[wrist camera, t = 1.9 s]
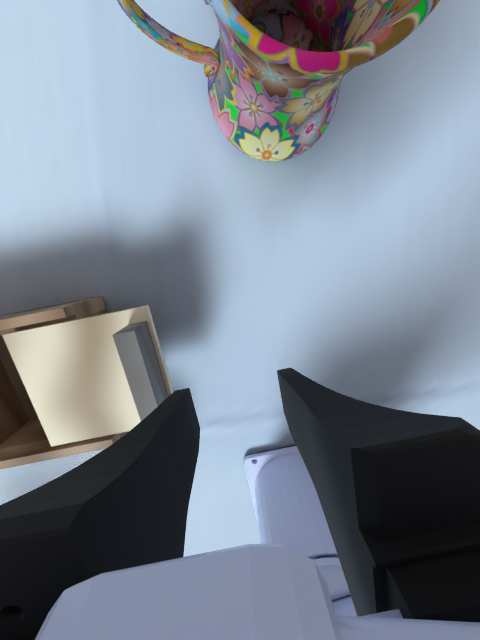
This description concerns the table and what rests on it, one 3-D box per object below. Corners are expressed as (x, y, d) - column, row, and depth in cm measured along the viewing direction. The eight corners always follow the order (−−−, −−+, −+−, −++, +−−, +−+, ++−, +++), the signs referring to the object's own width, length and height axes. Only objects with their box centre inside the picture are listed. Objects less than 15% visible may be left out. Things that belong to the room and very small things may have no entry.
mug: (337, 5, 16) (523, -426, 6) (339, 165, 19) (477, 50, 8) (151, 22, 16) (14, -396, 6) (175, 182, 18) (107, 85, 8)
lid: (148, 304, 16) (132, 313, 13) (180, 416, 18) (172, 443, 15) (8, 332, 16) (-35, 347, 13) (56, 441, 18) (26, 472, 15)
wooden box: (102, 295, 20) (62, 307, 15) (138, 406, 22) (114, 446, 18) (-23, 320, 20) (-101, 340, 15) (27, 428, 22) (-27, 474, 18)
